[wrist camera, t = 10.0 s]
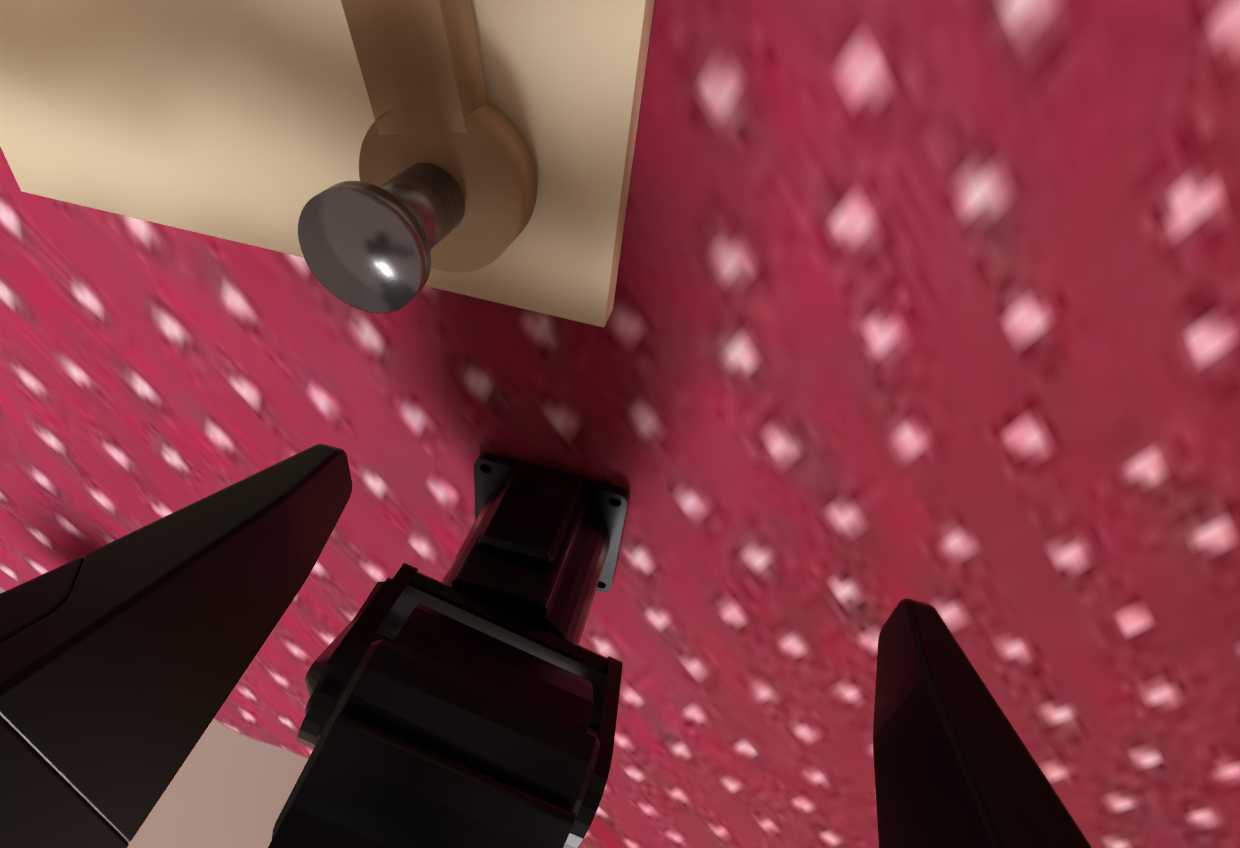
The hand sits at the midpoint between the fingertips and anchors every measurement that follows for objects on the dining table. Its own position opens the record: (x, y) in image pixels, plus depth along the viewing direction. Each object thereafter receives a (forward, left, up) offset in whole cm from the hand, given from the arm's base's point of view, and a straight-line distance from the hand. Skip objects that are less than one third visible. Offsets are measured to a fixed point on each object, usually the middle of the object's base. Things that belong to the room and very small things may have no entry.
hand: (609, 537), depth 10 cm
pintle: (+1, +7, -9) cm, 11 cm away
